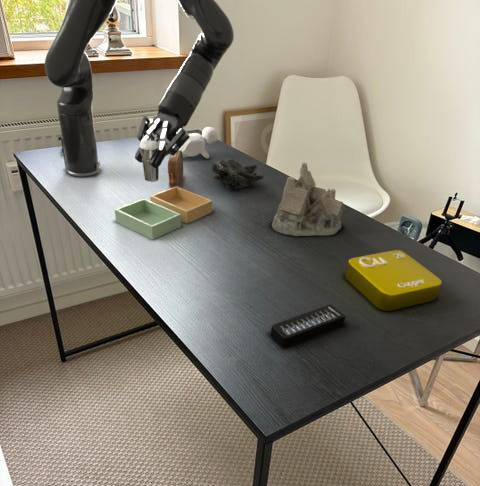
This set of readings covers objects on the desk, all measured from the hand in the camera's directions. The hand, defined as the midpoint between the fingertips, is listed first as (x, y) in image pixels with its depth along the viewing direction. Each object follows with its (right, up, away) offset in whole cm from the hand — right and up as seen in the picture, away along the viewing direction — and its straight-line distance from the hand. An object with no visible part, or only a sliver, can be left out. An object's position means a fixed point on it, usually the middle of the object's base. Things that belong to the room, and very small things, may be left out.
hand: (145, 163), depth 113 cm
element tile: (+54, -29, -8) cm, 62 cm away
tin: (+3, +4, +31) cm, 32 cm away
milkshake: (+1, -3, +4) cm, 5 cm away
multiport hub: (+35, -38, -21) cm, 56 cm away
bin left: (-1, -12, +9) cm, 15 cm away
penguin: (+7, +19, +51) cm, 55 cm away
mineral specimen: (+21, +3, +32) cm, 38 cm away
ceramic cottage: (+39, -12, +14) cm, 43 cm away
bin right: (+6, -7, +17) cm, 19 cm away
